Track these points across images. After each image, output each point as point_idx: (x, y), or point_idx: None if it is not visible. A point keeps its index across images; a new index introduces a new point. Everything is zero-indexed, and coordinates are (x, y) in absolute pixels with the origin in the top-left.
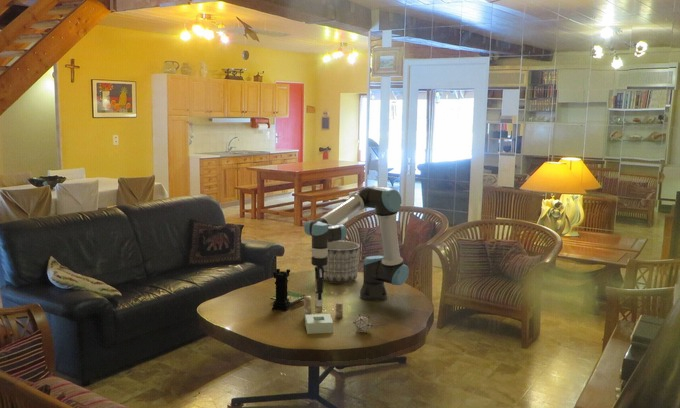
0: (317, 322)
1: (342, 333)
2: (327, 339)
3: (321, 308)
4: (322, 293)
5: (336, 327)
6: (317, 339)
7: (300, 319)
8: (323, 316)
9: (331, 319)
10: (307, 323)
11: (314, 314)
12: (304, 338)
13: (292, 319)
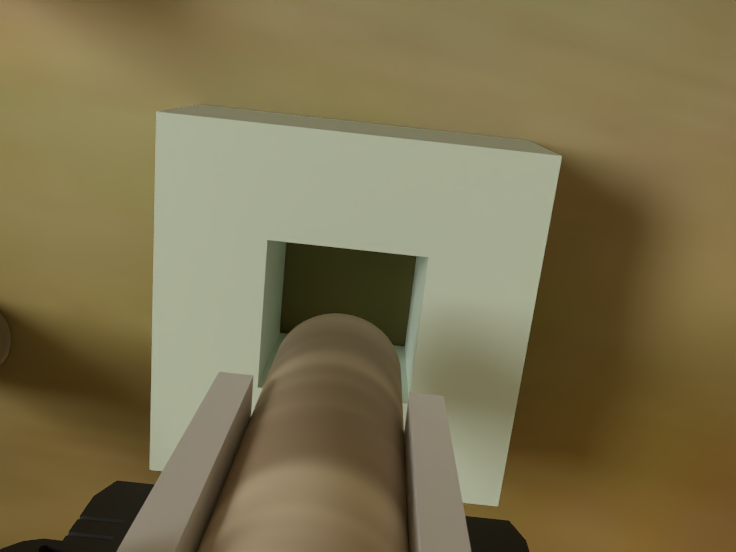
0: (496, 378)
1: (586, 19)
2: (715, 258)
3: (388, 370)
4: (334, 538)
5: (354, 45)
6: (674, 366)
7: (11, 418)
8: (266, 239)
9: (424, 149)
10: (488, 503)
11: (157, 348)
12: (600, 486)
13: (5, 499)
